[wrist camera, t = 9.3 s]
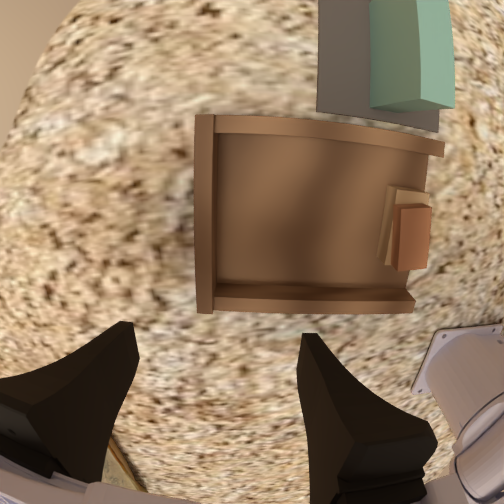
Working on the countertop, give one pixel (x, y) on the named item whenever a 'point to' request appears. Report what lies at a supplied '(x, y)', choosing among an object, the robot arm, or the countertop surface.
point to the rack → (298, 214)
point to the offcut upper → (410, 236)
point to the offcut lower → (392, 197)
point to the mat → (353, 66)
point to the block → (411, 55)
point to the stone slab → (118, 469)
